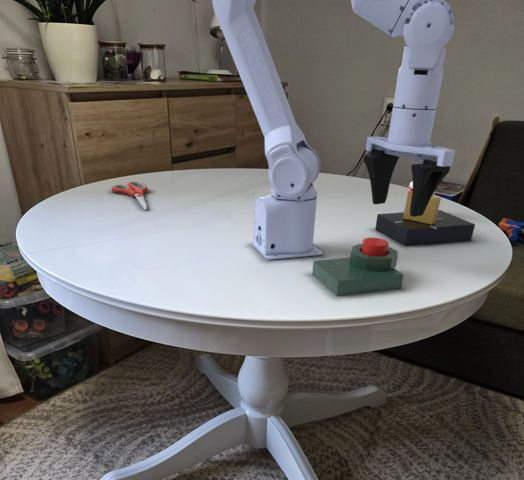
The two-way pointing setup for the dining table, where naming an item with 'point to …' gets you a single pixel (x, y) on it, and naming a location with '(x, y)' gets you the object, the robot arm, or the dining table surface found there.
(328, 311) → the dining table surface
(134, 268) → the dining table surface
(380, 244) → the button
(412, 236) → the dark gray flat block
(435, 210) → the tan wooden brick
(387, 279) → the button box
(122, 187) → the scissors
